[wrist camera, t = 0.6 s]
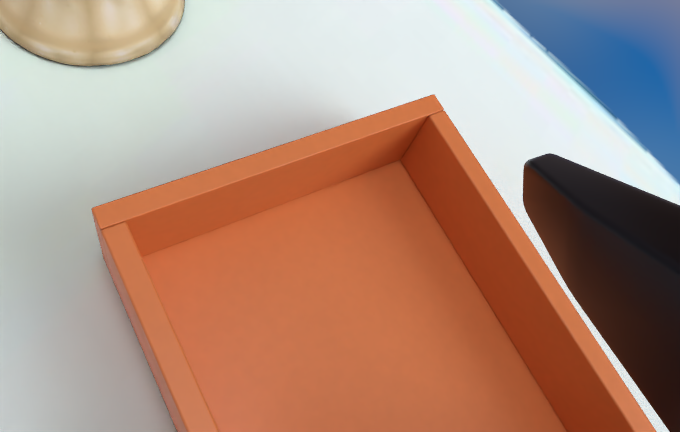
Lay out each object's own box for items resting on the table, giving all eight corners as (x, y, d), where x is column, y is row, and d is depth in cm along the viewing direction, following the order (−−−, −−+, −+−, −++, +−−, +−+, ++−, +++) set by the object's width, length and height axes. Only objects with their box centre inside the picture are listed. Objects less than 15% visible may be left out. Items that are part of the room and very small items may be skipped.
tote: (602, 471, 24) (678, 463, 20) (293, 704, 18) (323, 749, 15) (400, 147, 28) (434, 93, 25) (102, 256, 23) (90, 207, 19)
